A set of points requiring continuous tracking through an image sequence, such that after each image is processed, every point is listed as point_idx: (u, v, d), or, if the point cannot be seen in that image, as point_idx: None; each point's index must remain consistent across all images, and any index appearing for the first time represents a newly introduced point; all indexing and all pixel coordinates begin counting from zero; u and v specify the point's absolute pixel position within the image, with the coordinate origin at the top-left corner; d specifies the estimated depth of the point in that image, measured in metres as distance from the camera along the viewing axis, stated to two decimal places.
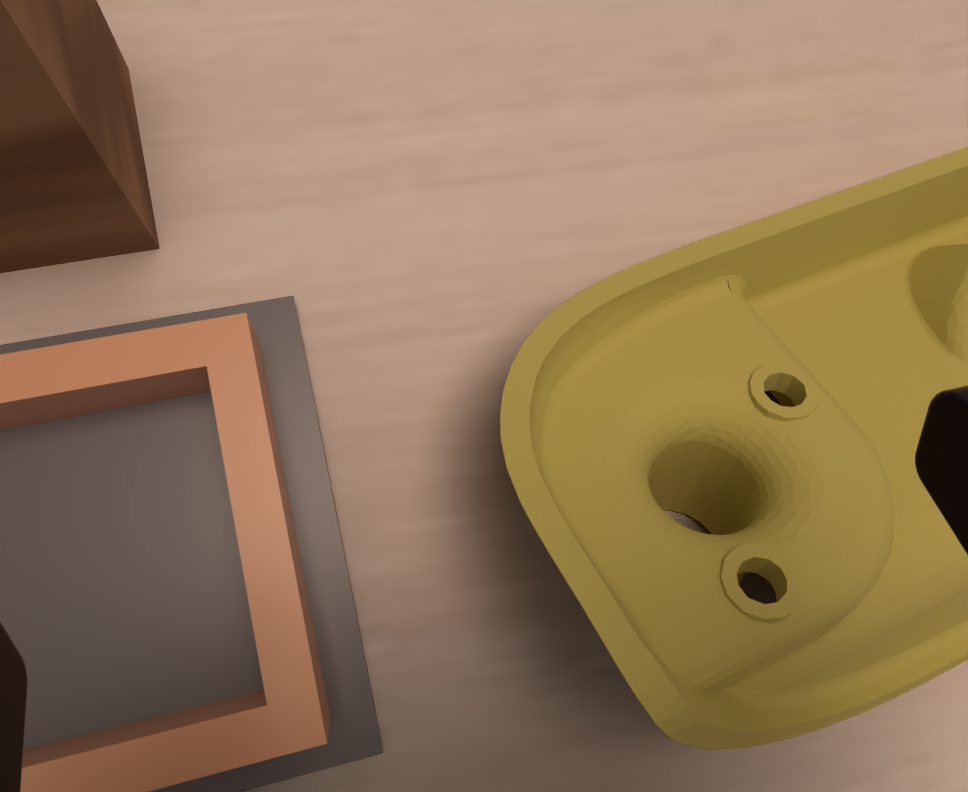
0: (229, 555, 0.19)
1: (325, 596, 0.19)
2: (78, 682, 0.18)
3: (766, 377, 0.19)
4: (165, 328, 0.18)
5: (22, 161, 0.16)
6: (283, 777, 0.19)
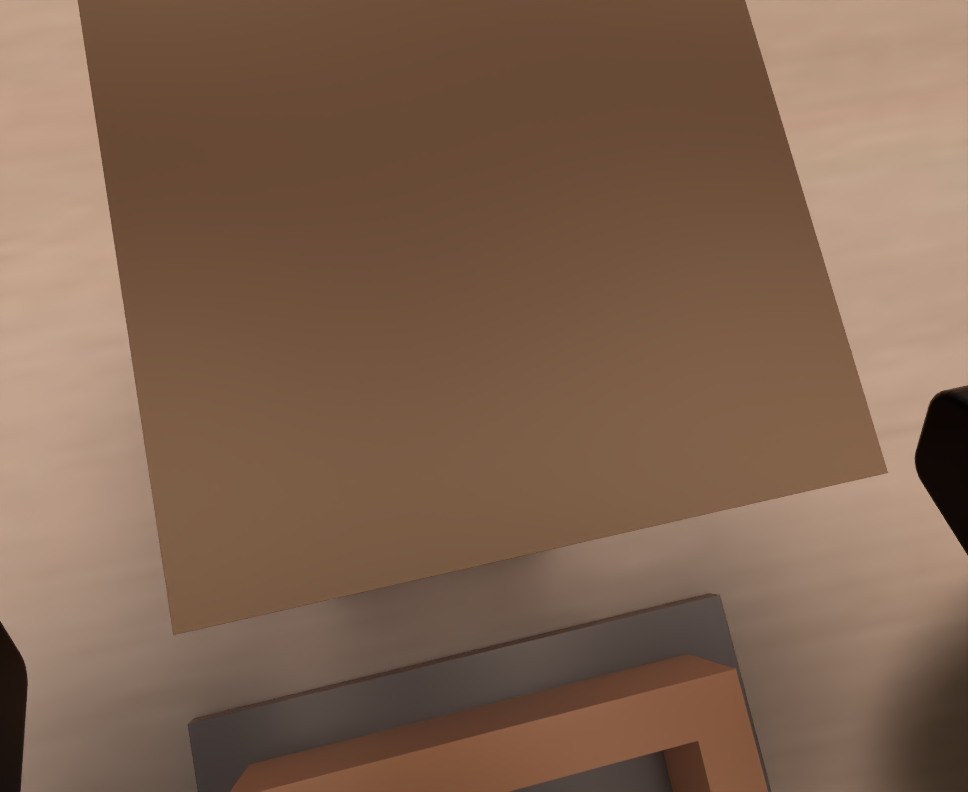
0: None
1: None
2: None
3: None
4: (647, 694, 0.15)
5: None
6: None
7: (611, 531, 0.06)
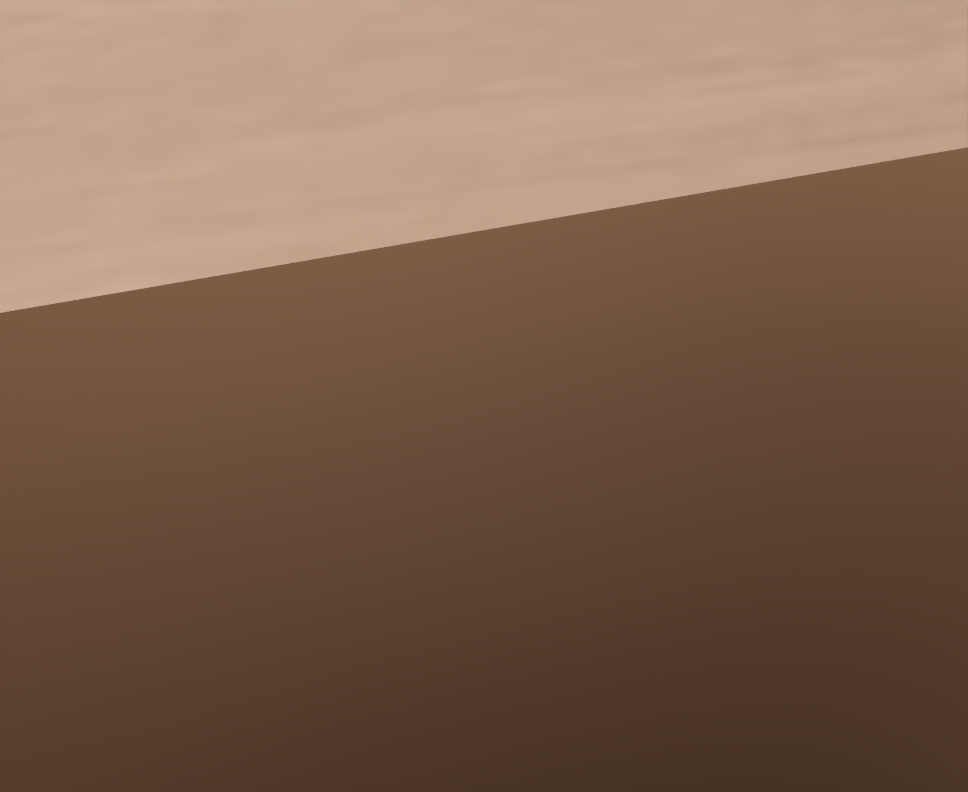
0: None
1: None
2: None
3: None
4: None
5: None
6: None
7: None
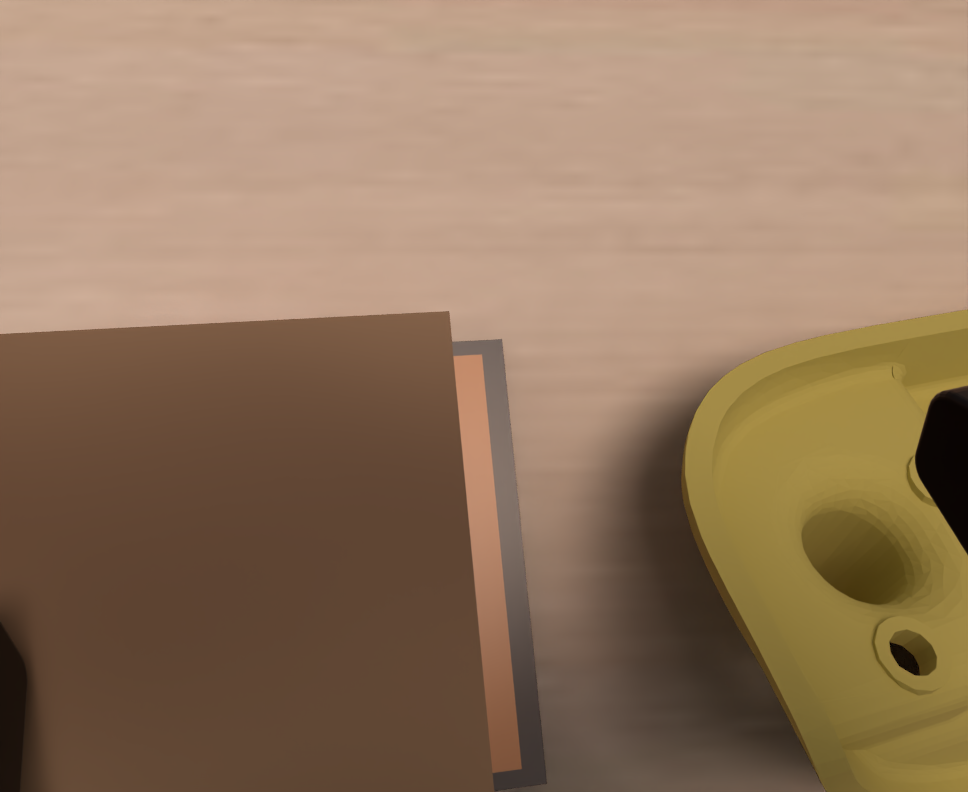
0: None
1: None
2: None
3: None
4: None
5: None
6: None
7: None
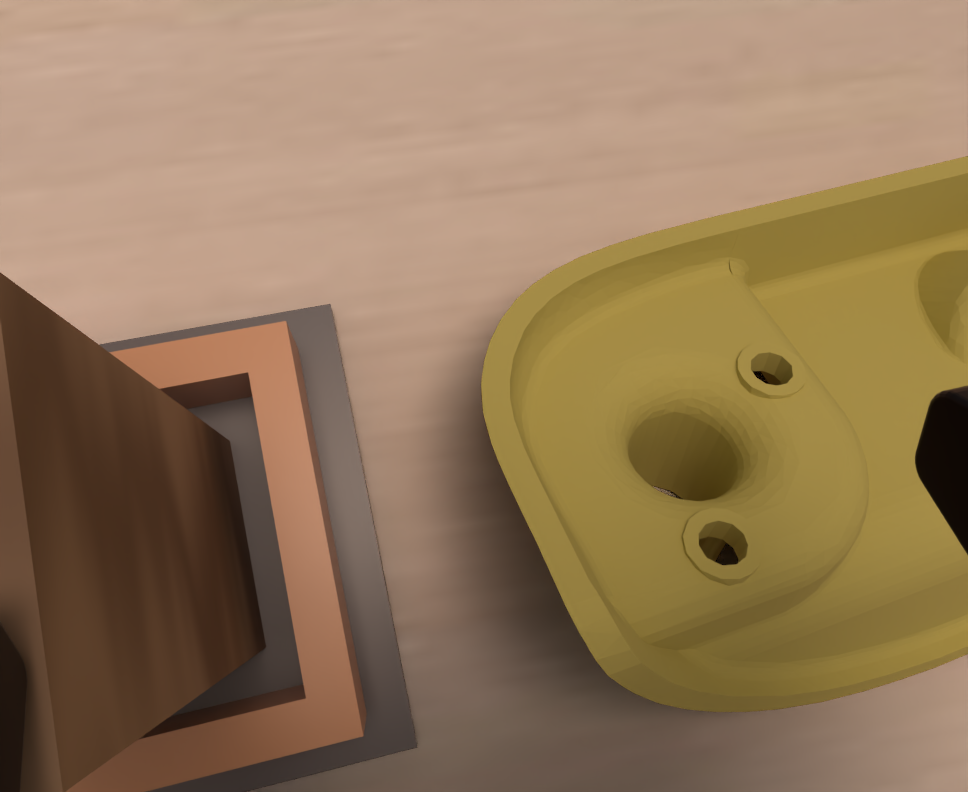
0: (269, 554, 0.20)
1: (361, 595, 0.20)
2: None
3: (755, 355, 0.19)
4: (209, 336, 0.18)
5: None
6: (321, 769, 0.19)
7: None
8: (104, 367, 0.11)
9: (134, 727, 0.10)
